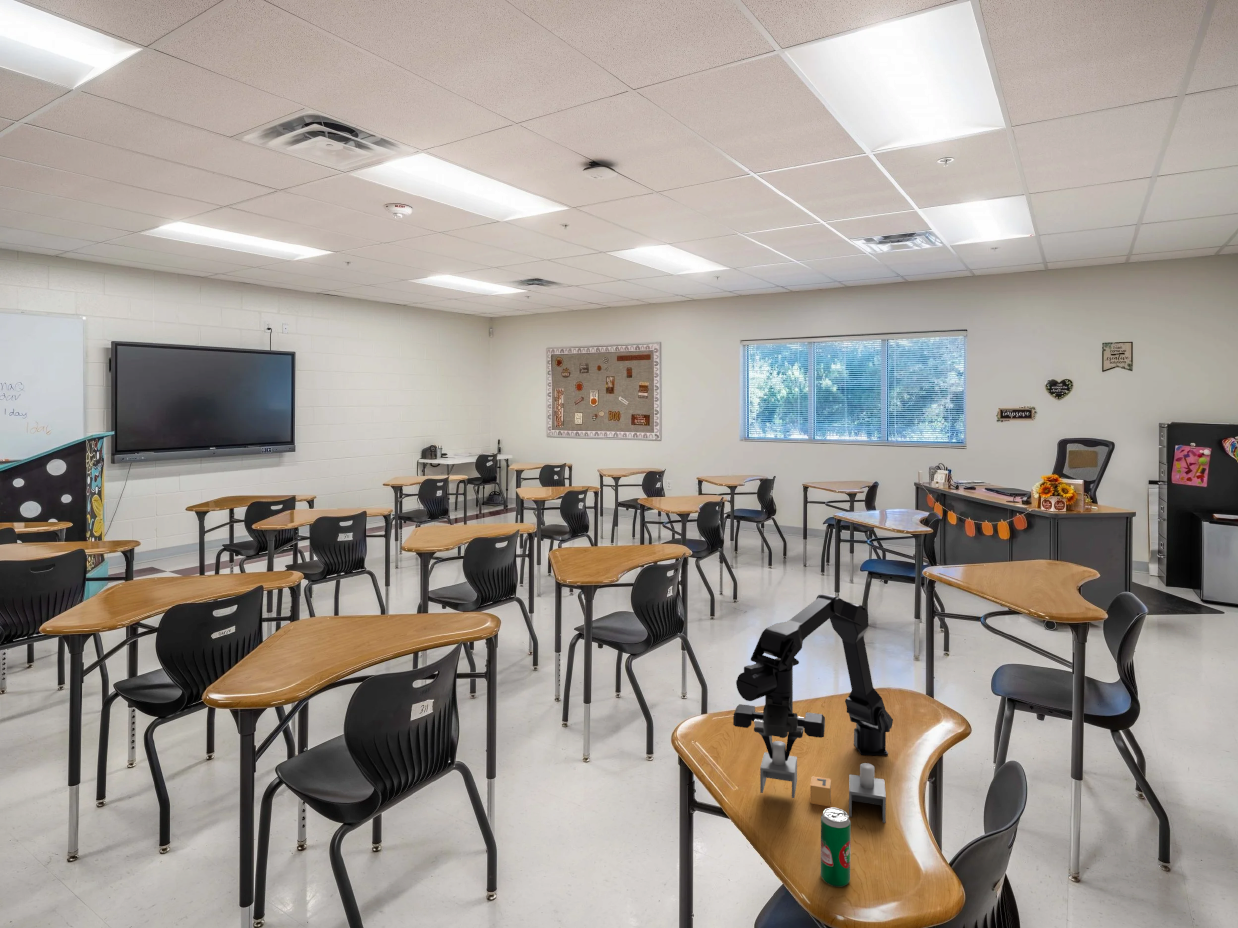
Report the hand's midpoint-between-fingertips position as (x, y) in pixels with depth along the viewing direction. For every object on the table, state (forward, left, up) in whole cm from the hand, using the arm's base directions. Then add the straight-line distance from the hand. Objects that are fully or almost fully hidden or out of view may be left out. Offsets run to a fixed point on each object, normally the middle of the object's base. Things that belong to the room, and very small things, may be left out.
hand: (778, 758), depth 146 cm
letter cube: (-9, 0, -9) cm, 13 cm away
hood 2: (-17, +4, -9) cm, 20 cm away
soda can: (-5, +26, -9) cm, 28 cm away
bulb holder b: (0, 0, -6) cm, 6 cm away
